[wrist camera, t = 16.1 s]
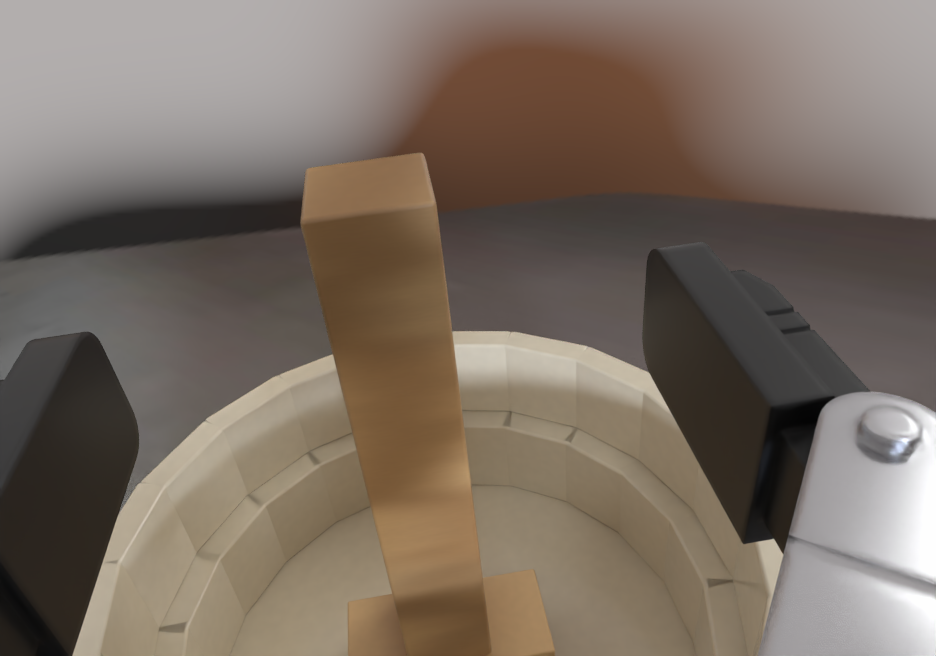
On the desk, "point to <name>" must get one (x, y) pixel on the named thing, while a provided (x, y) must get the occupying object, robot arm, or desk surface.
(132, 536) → the bowl
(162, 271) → the desk surface
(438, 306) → the wooden t-shaped block
